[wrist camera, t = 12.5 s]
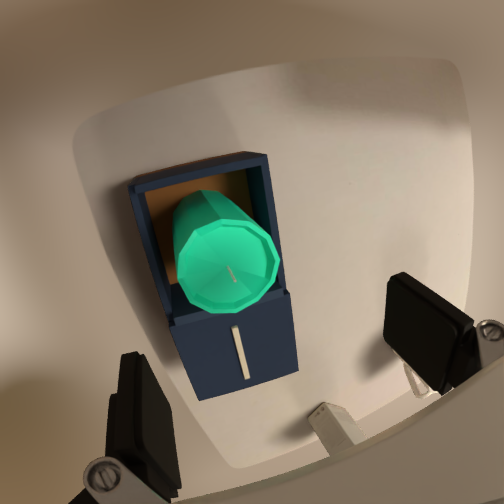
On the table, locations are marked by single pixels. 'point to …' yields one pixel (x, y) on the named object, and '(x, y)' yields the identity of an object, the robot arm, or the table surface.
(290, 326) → the navy slotted box
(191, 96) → the table surface
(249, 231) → the candle
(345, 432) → the cosmetic box
